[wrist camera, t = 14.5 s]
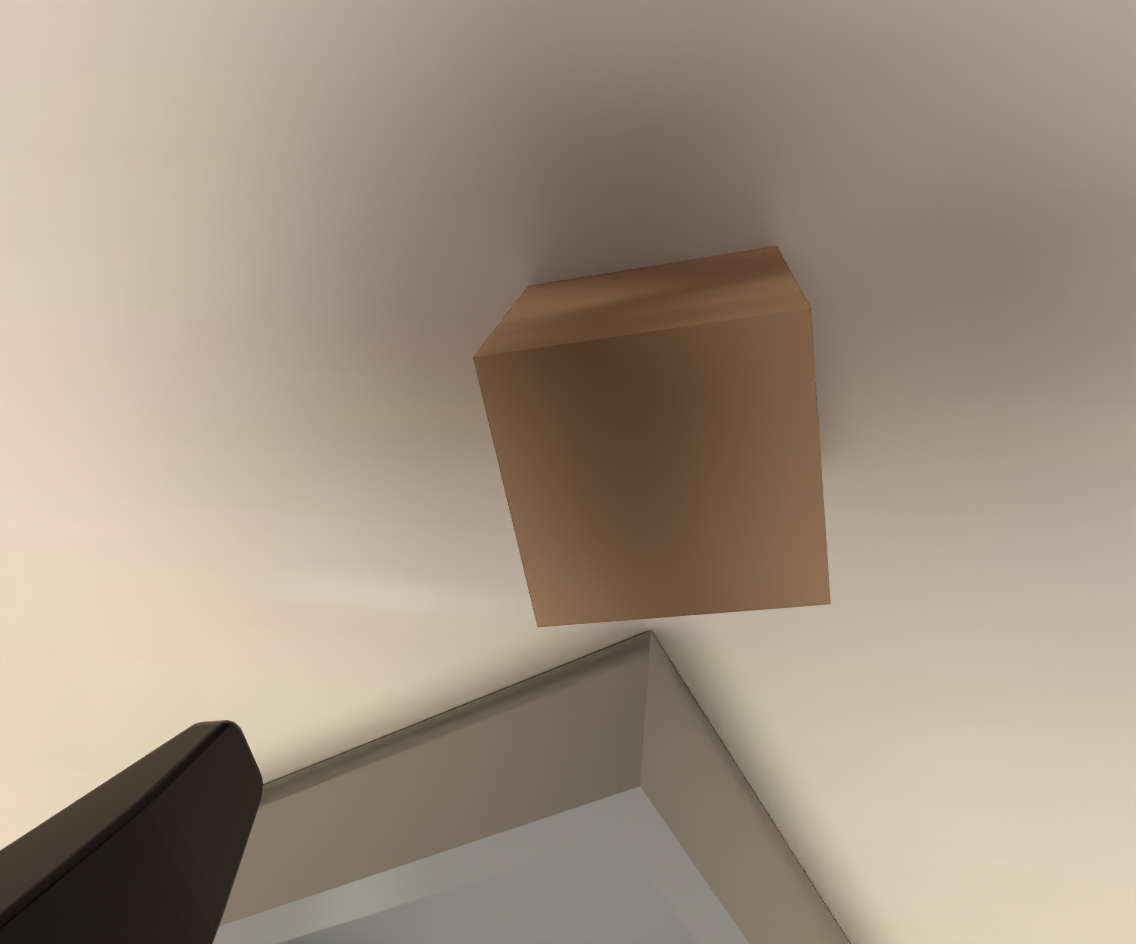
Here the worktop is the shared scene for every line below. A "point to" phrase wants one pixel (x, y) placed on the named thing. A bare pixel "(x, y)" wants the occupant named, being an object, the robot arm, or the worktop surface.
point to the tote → (530, 828)
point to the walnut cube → (661, 441)
